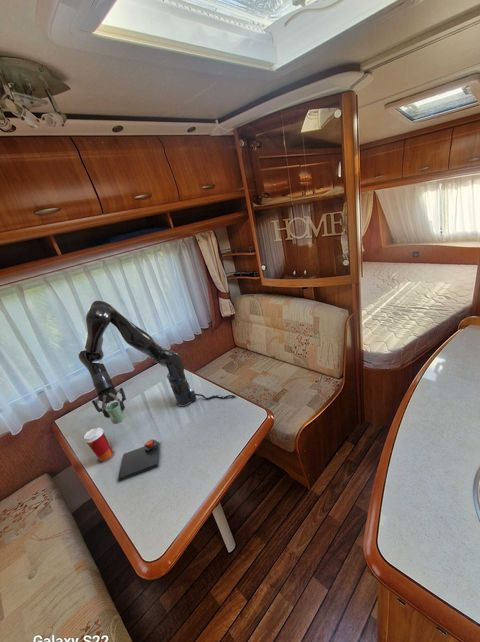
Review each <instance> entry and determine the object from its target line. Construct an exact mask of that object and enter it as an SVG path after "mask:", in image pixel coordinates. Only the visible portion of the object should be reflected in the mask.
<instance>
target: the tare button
mask: <svg viewBox="0 0 480 642" xmlns="http://www.w3.org/2000/svg"><path fill="white" fill-rule="evenodd" d="M152 440H153V439H149V440H147V441H146V442H145V444H146V446H147V447H148V448H149V447H152V446H153V444H154V443H153V441H152Z"/></svg>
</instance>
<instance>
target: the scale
mask: <svg viewBox="0 0 480 642" xmlns="http://www.w3.org/2000/svg"><path fill="white" fill-rule="evenodd" d="M151 440H152V441H153V443H154V444H153V446H152V447H149V448H148V447H147V446H146V443H145V444H144V445H143V446H141V447H139V448H136V449H133V450H130V451H128V452H124V453H123V455H122V459H121V464H120V468H119V469H120V470H119V474H118V477H117V479H118V481H119V482H120V481H123V480H126V479H129V478H130V477H131V478H132V477H134V476H136V475H140V474H142V473H144V472H147V471H150V470H153V469H156V468H158V467H159V456H160V442H159V441H157V440H156V439H151Z"/></svg>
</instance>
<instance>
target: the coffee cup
mask: <svg viewBox="0 0 480 642" xmlns="http://www.w3.org/2000/svg"><path fill="white" fill-rule="evenodd" d="M83 441H84V442H85V443H86V444H87V445H88V447H89V448H90V449H91V452H92V453H94V455H95V457H97V459H98V460H99V462H106V461H108V460H110V458H112V457H113V456H114V451H113V450H112V447H111V445H110V443H109V441H108V438H107V436H106V434H105V430H104V428H101V427H95V428H91V429H90V430H88V431H87V432H86V433H85V434H84V436H83Z"/></svg>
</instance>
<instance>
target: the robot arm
mask: <svg viewBox="0 0 480 642" xmlns="http://www.w3.org/2000/svg"><path fill="white" fill-rule="evenodd" d="M85 324H86V332H87V333H86V337H85V342H84V349H82V350H80V351H79V352H78V355H77V356H78V359H79V361H80V363H81V364H82V365H83V366H84V367H85V368H86V370H87V371H88V373H89V375H90V377H91V380H92V384H93V387H94V390H95V391H96V394H97V398H96V399H93V400H92V401H91V403H92V405H93V406H94V408H95V410H96V411H97V412H98V413H101V412H102V414H103V416H104V418H107V419H110V417H109V416H108V414H107V412H106V410H105V409H106V407H107V406H108V404H111V402H114V401H115V402H119V403H120V406H121V408H122V410H123V411H125V410H126V406H125V404H124V402H125V401H127V397H126V394H125V390H124V388H123V387H119V388H118V389H116V388H115V385H114V383H113V381H112V378H111V375H110V374H109V372H108V371H107V368H106V365H105V364H104V363H102V362H99V361H101V360H102V359H104V357H105V356H104V351H103V343H104V333H105V331H106V330H107V328H108V326H109V325H110V324H112V326H114V328H116V330H117V331H118V333H119V335H120V337H122V339H123V340H124V342H125V343H126V344H127V345H128V346H130V347H132V348H134V349H135V350H137V351H139V352H140V353H143V354H145V355H146V356H149V357H150V358H151V359H153V360H154V361H155V362H156V363H157V364H158V365H160V366H162V367H164V368H166V369H167V371H168V372H167V374H166V378H167V381H168V384H169V385H170V388H171V390H172V393H173V395H174V399H175V401H176V404H177V406H179V407H186V406H188V405H190V404H191V403H193V402H194V400H196V399H197V397H201V398H203V399H204V398H206V399H205V400H211V399H214V398H219V399H228V398H233V399H234V398H236V395H233V394H228V395H225V396H221V397H218V396H219V395H216V396H215V395H212V396H210V397H206V395H204V394H202V393H201V394H200V393H196V392H195V390H192V389H191V386H190V383H189V382H188V379H187V376H186V374H185V366H184V363H183V360H182V357H181V355H180V354H179V353H178V352H176V351H173V350H169V349H166V348H164V347H162V346H160V345H159V344H158V343H156V341H155V340H154V338H153V337H152V336H151V335H150V334H149V333H147V332H146V331H144V330H143V329H142V328H141V327H139V326H137V325H136V324H134V323H133V322H132V321H131V320H129V319H128V318H126V317H125V316H124V315H123V314H122V313H121V312H120V311H118V310H117V309H116V308H115V307H113V305H111V304H110V303H108V302H107V301H104V300H94V301H93V302H91V304H90V305H89V308H88V310H87V312H86V315H85ZM118 393H119V394H120V395H121V398H120V397H118ZM230 396H231V397H230ZM223 397H224V398H223ZM99 402H101V407H100V406H99Z"/></svg>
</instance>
